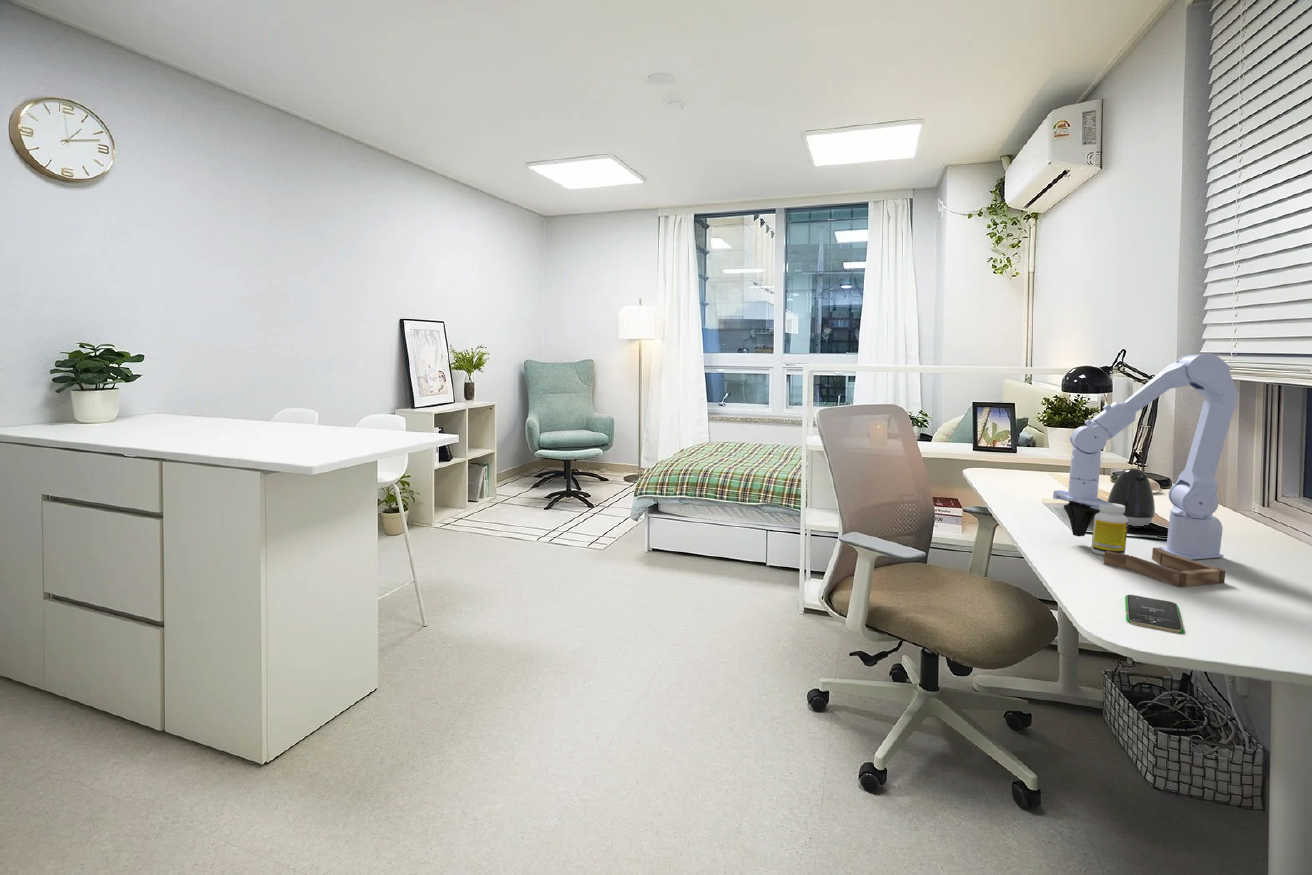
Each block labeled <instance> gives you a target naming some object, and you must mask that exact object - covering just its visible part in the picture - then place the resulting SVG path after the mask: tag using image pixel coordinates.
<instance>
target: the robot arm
mask: <svg viewBox="0 0 1312 875" xmlns="http://www.w3.org/2000/svg"><path fill="white" fill-rule="evenodd" d="M1187 386H1188V387H1189V386H1190V387H1192V388H1193V389H1194V390H1195V391H1196V392H1197V393H1198V394H1199V395H1200V396H1201V397H1202V398H1203V399H1204V400H1203V404H1202V407H1201V412H1200V415H1199V418H1198V422H1197V426H1196V429H1195V433H1194V436H1193V439H1192V443H1191V447H1190V451H1189V454H1188V458H1187V461H1186V465H1185V468H1184V469H1183V471H1181V472H1180V474H1178V478H1177V481H1176V482H1175V483H1174V484H1173V485H1172V486H1171V488H1170V489H1169V491H1168V500H1169V501H1170V503H1171V504H1172V505H1173V506H1172V508H1171V509H1170V511H1169V522H1168V528H1167V541H1166V546H1156V547H1155V548H1162V549H1163V550H1165V551H1166V552H1168V553H1170V554H1173V555H1176V556H1180V557H1183V558H1186V559H1190V560H1193V561H1194V560H1205V559H1206V560H1207V559H1216V558H1224V554H1221V546H1222V536H1223V525H1222V522H1221V521H1220V519H1219V518H1217V517H1216V516H1215V515H1213V514H1214V513H1216V511H1217V509H1218V507H1219V499H1218V495H1217V490H1218V486H1219V485H1218V482H1217V477H1216V473H1217V470H1218V466H1219V463H1220V460H1221V456H1222V453H1223V449H1224V445H1225V441H1226V438H1227V435H1228V431H1229V428H1230V424H1231V421H1232V418H1233V415H1234V412H1235V407H1236V404H1237V401H1238V397H1239V392H1238V390H1237V387H1236V385H1235V382H1234V379H1233V378H1232V374H1231V367H1230V365H1229V364H1228V363H1226V362H1225V361H1224V360H1223V359H1222V358H1221V357H1220V356H1218V355H1215V354H1211V353H1204V354H1196V353H1189V354H1188V353H1187V354H1185V355H1183V356H1180V357H1179V358H1178V359H1177V360H1176V361H1175V362H1172V363H1170V364H1169V365H1168V364H1167V366H1166V367H1164V368H1163V369H1162V370H1161V371H1160V372H1159V373H1157V374H1156V375H1155V376H1153V377H1152V378H1151V379H1150V380H1149V381H1147V383H1145V384H1144V385H1143V386H1141V387H1140V388H1139V389H1138V390H1137V391H1136V392H1134V393H1133V394H1132V395H1130V396H1129V397H1128V398H1127V399H1126V400H1124V401H1115V402H1112V403H1111V404H1109V403H1106V404H1105V405H1104V406H1102V409H1103V410H1102V411H1101V412H1099V413H1098V414H1097V415H1095V416H1094V417H1092V419H1087V420H1085V421H1084V424H1086V425H1081V426H1079V427H1077V428H1075V429H1074V430H1073V432H1072V434H1071V436H1069V441H1070V444H1071V445H1072V452H1071V453H1072V454H1071V458H1070V469H1069V480H1068V490H1067V491H1065V490H1061V489H1059V490H1058V489H1057V490H1053V493H1052V494H1053V496H1052V499H1054V500H1060V501H1065V502H1068V503H1067V504H1063V509H1064V510H1065V512H1066V514H1067V516H1068V519H1069V522H1070V527H1071V531H1072V535H1073V536H1075V537H1085V536H1086V533H1087V531H1088V529H1089V526H1090V524H1091V522H1092V521H1093V520H1094V517H1095V515H1096V514H1097V513H1099V512H1100V510H1099V506H1100V503H1101V504H1106V505H1111V504H1113V503H1110V504H1109V502H1107V501H1106V500H1104V499H1101V498H1099V497H1098V493H1099V483H1100V482H1099V480H1100V473H1101V471H1100V470H1101V455H1102V454H1101V453H1102V450H1103V449H1105V447H1106V445H1107V440H1112V438H1114V437H1115V436H1117V435H1118V434H1119V433H1120V432H1122V431H1123V430H1124V429H1125V428H1127V427H1128V426H1130V425H1131V424H1133V423H1134V422H1135V421H1136V414H1137V412H1138V411H1141V409H1143V408H1144V407H1146V406H1148V405H1149V404H1150V403H1152V402H1153V401H1155V400H1156V399H1157V398H1159V397H1161V396H1162V395H1163V394H1165V393H1166V392H1168V391H1169V390H1171V389H1175V388H1176V389H1177V388H1182V387H1187Z"/></svg>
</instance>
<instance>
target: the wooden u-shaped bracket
mask: <svg viewBox="0 0 1312 875" xmlns="http://www.w3.org/2000/svg"><path fill="white" fill-rule="evenodd" d="M1103 556H1104V557H1103V558H1104V559H1103V564H1104V565H1107V566H1112V567H1117V568H1123V569H1126V570H1129V571H1132V572H1135V573H1137V574H1141V575H1143V576H1147V577H1149V578H1153V579H1156V580H1159V581H1160V582H1165V583H1167V584H1169V585H1173V586H1175V587H1178V588H1183V587H1194V586H1195V587H1196V586H1204V585H1206V586H1207V585H1216V584H1218V585H1219V584H1225V581H1226V573H1227V572H1226V571H1227V570H1225V569H1222V568H1218V567H1215V566H1212V565H1209V564H1205V563H1202V562H1200V561H1196V560H1194V559H1193V560H1190V559H1186V558H1183V557H1180V556H1176V555H1173V554H1170V553H1168V552H1166V551H1165V550H1163V549H1162V548H1156V547H1152V555H1151V560H1153V561H1154V562H1151V561H1148V560H1146V559H1144V558H1143V559H1142V558H1139V557H1136V556H1134V555H1129V554H1120V553H1115V552H1110V551H1106V552H1105V555H1103ZM1155 562H1156V563H1155Z"/></svg>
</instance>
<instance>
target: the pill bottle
mask: <svg viewBox="0 0 1312 875" xmlns="http://www.w3.org/2000/svg"><path fill="white" fill-rule="evenodd" d="M1109 504H1110V503H1109ZM1123 513H1125V506H1124V505H1120V504H1115V503H1113V504H1111V505H1106V504H1101V503H1100V506H1099V512H1098V513H1097V514H1096V515H1095V516H1094V518H1093V526H1092V527H1093V528H1092V539H1091V551H1092V552H1093V553H1094V554H1096V555H1100V556H1104V555H1105V552H1106V551H1110V552H1115V553H1120V554H1125V553H1126V545H1127V535H1128V528H1127V527H1128V519H1127V517H1126V516H1124V515H1123Z"/></svg>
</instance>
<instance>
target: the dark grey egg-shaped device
mask: <svg viewBox="0 0 1312 875" xmlns="http://www.w3.org/2000/svg"><path fill="white" fill-rule="evenodd" d="M1152 488H1153V487H1152V485H1151V482H1150V479H1149V478H1148V475H1147V474H1146V473H1145V472H1144V471H1143V470H1141V469H1139V468H1135V467H1132V468H1126V469H1125V470H1123V471H1122V472H1121V473H1120V474H1119V475H1118V476H1117V478H1116V480H1115V481H1114V483H1113V486H1112V488H1111V490H1110V491H1109V492H1110V493H1109V495H1108V499H1107V501H1106V502H1109V503H1115V504H1120V505H1124V506H1125V513H1123V515H1124V516H1126V517H1127V519H1128V525H1132V526H1144V525H1147V526H1148V525H1149V524H1151V522H1152V520H1153V519H1154V517H1155V515H1156V505H1155V497H1154V492H1153V489H1152Z"/></svg>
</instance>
